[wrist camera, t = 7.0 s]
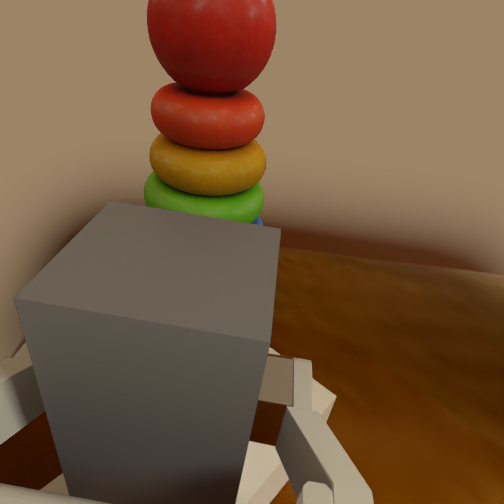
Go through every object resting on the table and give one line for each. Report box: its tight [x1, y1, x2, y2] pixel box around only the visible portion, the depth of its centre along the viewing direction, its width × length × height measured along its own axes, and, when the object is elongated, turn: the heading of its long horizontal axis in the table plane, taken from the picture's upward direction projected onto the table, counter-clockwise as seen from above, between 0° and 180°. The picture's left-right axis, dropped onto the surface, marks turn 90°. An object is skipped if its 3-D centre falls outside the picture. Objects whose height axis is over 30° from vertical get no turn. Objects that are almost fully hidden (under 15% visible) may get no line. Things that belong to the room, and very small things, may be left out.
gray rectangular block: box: [14, 201, 281, 504], centre depth 11 cm, size 4×4×11 cm
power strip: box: [41, 347, 337, 504], centre depth 15 cm, size 11×5×4 cm, turn 138°
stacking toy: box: [144, 0, 276, 226], centre depth 19 cm, size 8×8×19 cm
